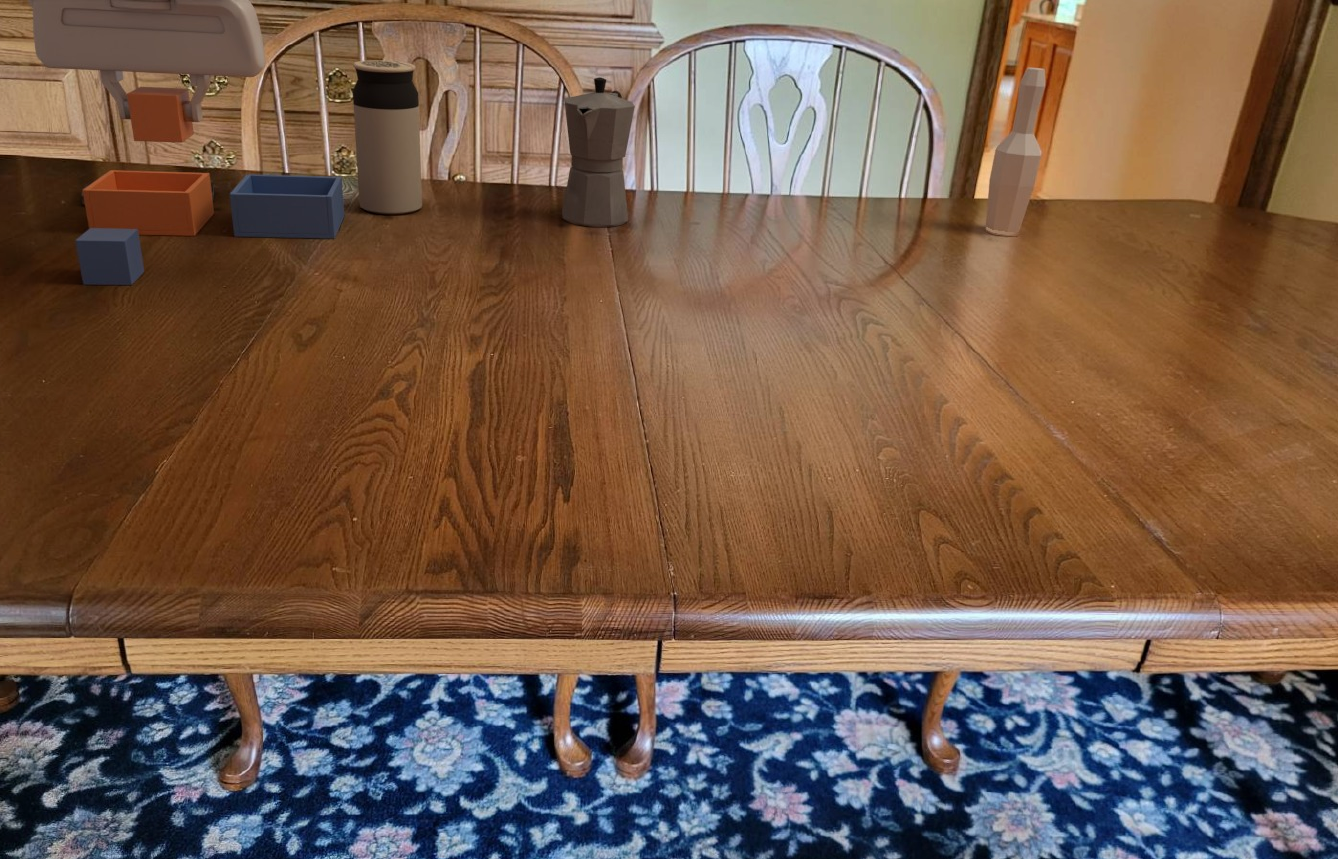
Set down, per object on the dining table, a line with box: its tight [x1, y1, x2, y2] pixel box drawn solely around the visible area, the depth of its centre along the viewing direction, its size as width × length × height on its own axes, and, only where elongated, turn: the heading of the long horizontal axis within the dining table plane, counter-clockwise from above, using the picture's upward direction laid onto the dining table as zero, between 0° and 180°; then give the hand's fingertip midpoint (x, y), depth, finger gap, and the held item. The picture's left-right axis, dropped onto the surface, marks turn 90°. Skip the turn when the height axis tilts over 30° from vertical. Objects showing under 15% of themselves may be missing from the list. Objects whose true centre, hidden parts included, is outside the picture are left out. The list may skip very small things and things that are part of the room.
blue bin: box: [229, 173, 345, 240], centre depth 126 cm, size 11×10×5 cm
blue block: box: [75, 228, 145, 286], centre depth 105 cm, size 4×4×4 cm
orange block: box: [126, 86, 195, 144], centre depth 104 cm, size 4×4×4 cm
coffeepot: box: [561, 77, 636, 228], centre depth 137 cm, size 15×9×18 cm, turn 165°
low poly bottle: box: [985, 67, 1046, 237], centre depth 144 cm, size 6×6×22 cm
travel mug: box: [352, 59, 423, 216], centre depth 134 cm, size 8×8×18 cm
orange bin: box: [82, 169, 215, 237], centre depth 124 cm, size 11×10×5 cm
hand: (162, 119), depth 104 cm, fingers closed on orange block, 4 cm apart
